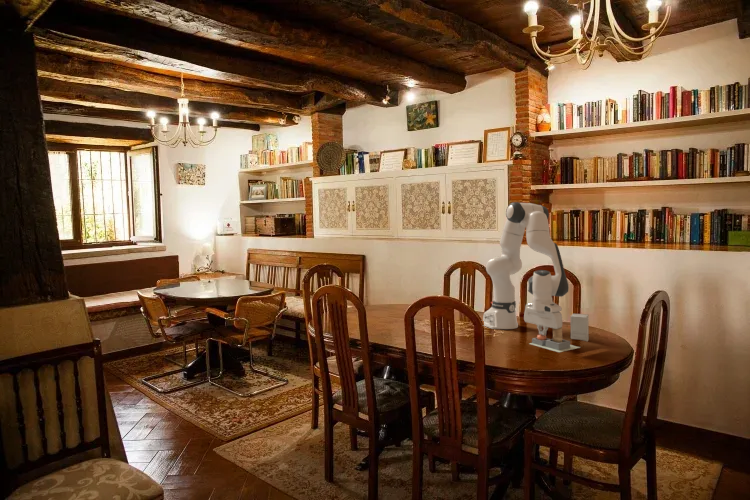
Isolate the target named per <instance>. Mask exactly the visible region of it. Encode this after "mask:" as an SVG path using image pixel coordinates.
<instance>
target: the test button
mask: <svg viewBox="0 0 750 500" xmlns="http://www.w3.org/2000/svg"><path fill="white" fill-rule="evenodd" d="M536 338H537V339H538V340H541V341H543V340H546V338H547V334H546V335H540V334H539V333H538V334H537V336H536Z"/></svg>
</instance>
